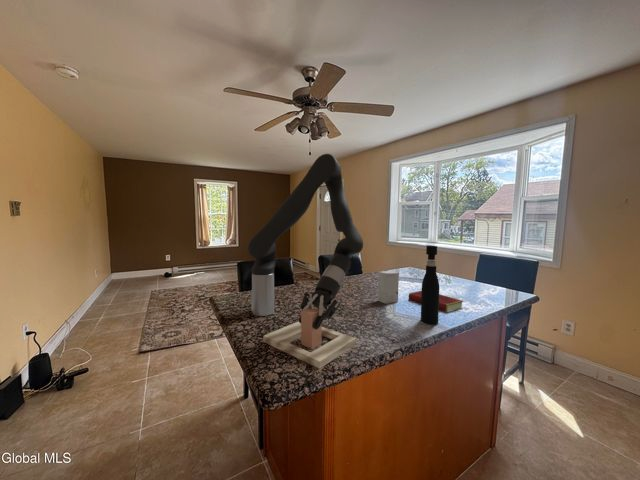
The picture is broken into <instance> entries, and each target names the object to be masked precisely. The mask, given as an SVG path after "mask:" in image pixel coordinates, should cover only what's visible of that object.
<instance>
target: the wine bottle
mask: <svg viewBox="0 0 640 480" xmlns="http://www.w3.org/2000/svg"><path fill="white" fill-rule="evenodd" d="M425 251H426V253H425V254H426V255H427V260H426V265H425V274H424V275H423V278H422V281H421V291H422V294H421V304H420V322H421V323H422V322H423V324H425V325H429V324H430V325H429V326H434V325H438V324H439V315H440V314H439V311H440V310H439V294H440V282H439V278H438V275H437V263H436V255H438V246H437V245H426V250H425Z"/></svg>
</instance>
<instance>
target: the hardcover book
mask: <svg viewBox="0 0 640 480" xmlns="http://www.w3.org/2000/svg"><path fill="white" fill-rule="evenodd" d="M421 294H422V290H419V291H412V292H409V293H408V301H411V302H414V303H417V304H420V305H421ZM463 302H464V300H461V299H459V298H454V297H451V296H448V295H443V294H440V293H439V311H440V312H444V313H446V314H448V313H450V312H452V311H453V312H454V311H456V310H460V309H462V307H463Z"/></svg>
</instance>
